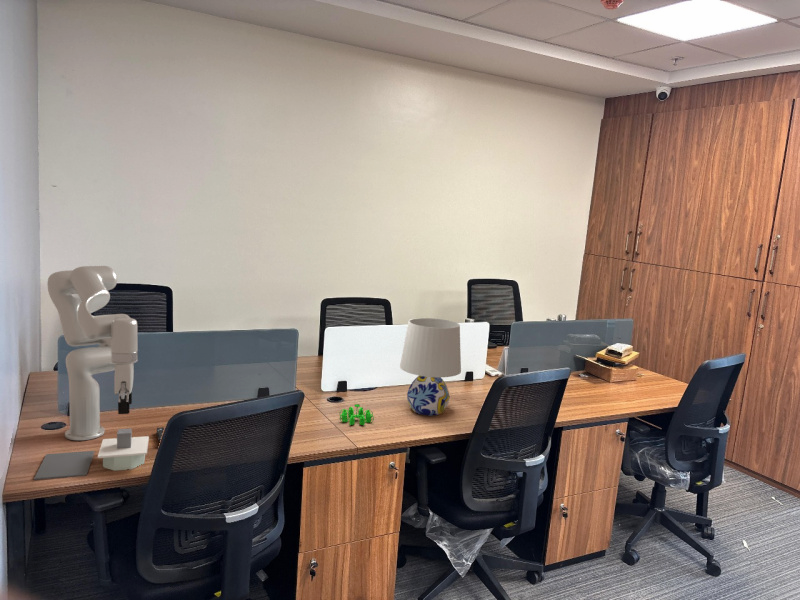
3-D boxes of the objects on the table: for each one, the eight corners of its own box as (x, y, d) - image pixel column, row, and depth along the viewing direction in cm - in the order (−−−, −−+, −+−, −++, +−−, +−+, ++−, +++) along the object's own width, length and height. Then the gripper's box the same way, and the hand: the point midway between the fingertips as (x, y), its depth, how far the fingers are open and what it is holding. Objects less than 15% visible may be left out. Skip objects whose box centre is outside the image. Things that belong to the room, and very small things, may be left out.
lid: (103, 440, 195) (102, 424, 194) (148, 437, 200) (148, 422, 199) (97, 458, 182) (97, 441, 181) (146, 454, 187) (146, 437, 186)
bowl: (106, 456, 195) (106, 441, 195) (145, 453, 200) (145, 439, 199) (101, 471, 184) (101, 456, 184) (143, 468, 189) (143, 453, 188)
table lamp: (412, 396, 281) (418, 314, 275) (465, 408, 270) (473, 323, 264) (386, 412, 257) (392, 322, 251) (444, 425, 246) (451, 332, 240)
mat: (46, 455, 193) (46, 454, 193) (94, 452, 198) (94, 450, 198) (34, 480, 176) (34, 478, 176) (86, 475, 181) (86, 474, 181)
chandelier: (378, 418, 250) (379, 402, 249) (367, 430, 236) (368, 413, 235) (345, 412, 254) (346, 397, 253) (332, 424, 240) (333, 407, 238)
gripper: (114, 351, 193) (114, 401, 196) (108, 364, 177) (109, 418, 180) (139, 350, 196) (139, 400, 198) (135, 363, 180) (136, 416, 182)
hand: (125, 408), depth 189 cm, fingers open, 9 cm apart
